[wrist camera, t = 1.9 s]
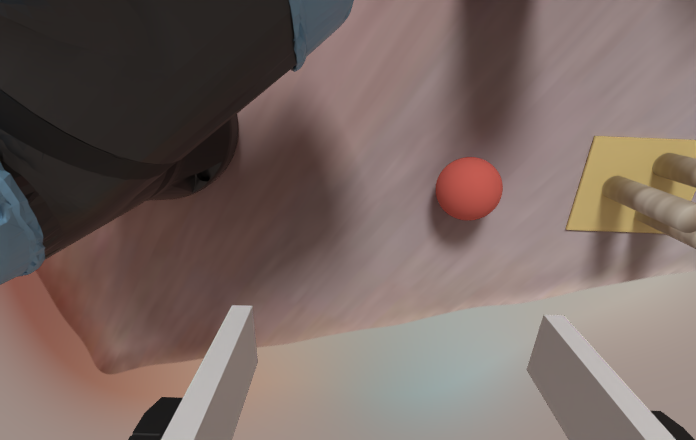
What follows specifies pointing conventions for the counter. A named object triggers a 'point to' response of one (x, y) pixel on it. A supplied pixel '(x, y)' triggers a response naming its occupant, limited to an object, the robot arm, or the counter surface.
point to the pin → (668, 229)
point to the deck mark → (631, 163)
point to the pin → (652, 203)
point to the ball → (469, 188)
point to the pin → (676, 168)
